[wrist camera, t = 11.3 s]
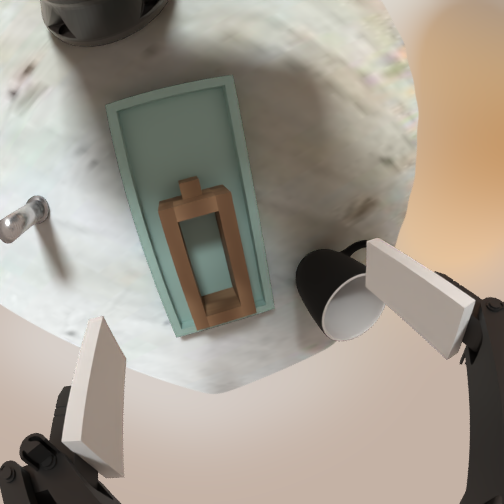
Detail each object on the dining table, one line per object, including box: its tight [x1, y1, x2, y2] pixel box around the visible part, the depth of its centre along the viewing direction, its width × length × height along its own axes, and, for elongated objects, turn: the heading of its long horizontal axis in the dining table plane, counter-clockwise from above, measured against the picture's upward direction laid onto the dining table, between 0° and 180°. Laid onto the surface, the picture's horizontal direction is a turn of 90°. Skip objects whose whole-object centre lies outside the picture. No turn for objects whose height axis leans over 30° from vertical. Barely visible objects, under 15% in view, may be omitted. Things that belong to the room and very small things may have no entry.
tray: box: [105, 75, 275, 337], centre depth 31 cm, size 28×13×2 cm, turn 12°
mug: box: [296, 240, 386, 341], centre depth 35 cm, size 12×9×10 cm
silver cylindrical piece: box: [0, 196, 49, 243], centre depth 23 cm, size 3×3×8 cm
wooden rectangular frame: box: [158, 176, 257, 331], centre depth 31 cm, size 7×16×4 cm, turn 12°
